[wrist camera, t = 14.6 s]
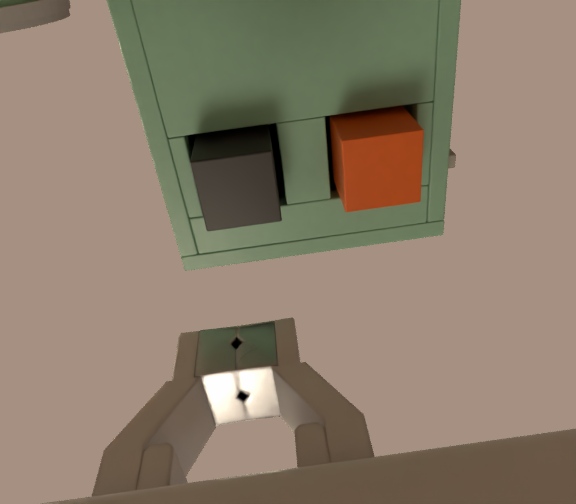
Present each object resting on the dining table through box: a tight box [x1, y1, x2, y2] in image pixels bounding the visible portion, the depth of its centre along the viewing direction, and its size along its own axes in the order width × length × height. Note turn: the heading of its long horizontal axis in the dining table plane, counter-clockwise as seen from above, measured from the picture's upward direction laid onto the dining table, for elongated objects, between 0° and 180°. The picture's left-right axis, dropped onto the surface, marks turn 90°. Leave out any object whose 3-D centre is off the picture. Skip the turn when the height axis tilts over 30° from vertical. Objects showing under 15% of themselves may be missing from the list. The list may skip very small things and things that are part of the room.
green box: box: [107, 0, 461, 271], centre depth 24 cm, size 15×13×17 cm
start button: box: [329, 105, 424, 212], centre depth 20 cm, size 3×3×3 cm
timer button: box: [190, 124, 282, 231], centre depth 20 cm, size 3×3×3 cm
